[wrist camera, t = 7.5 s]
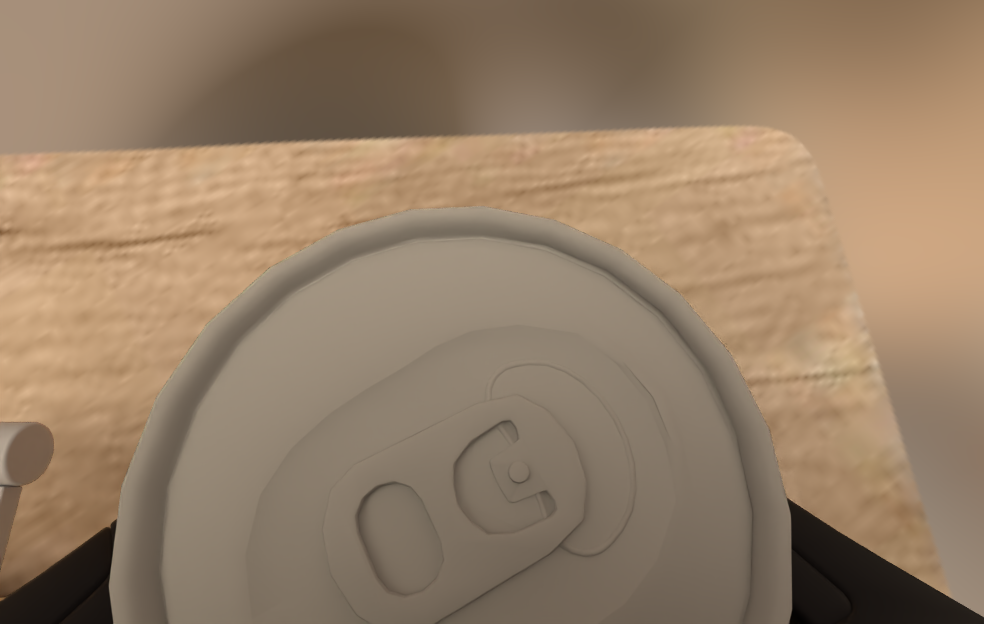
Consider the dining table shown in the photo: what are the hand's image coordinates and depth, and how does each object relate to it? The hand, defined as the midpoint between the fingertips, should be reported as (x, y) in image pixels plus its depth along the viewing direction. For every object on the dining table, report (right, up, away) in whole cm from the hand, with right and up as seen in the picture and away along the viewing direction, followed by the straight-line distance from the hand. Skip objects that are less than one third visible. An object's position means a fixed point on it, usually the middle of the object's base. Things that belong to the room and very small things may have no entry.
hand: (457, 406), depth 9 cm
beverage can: (0, -3, +6) cm, 7 cm away
